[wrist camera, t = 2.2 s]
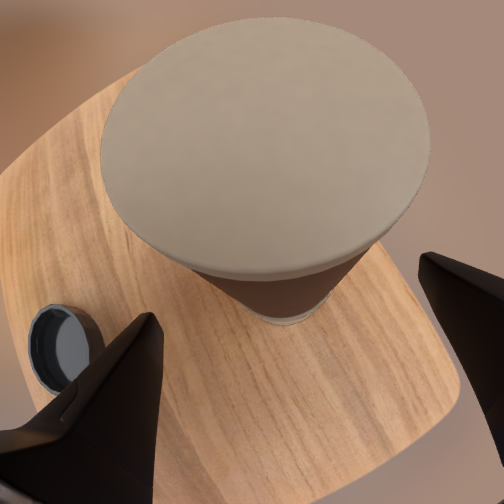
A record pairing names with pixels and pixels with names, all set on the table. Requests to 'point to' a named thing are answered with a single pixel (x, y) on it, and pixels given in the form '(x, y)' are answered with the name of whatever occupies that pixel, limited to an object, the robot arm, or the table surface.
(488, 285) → the robot arm
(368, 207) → the brown lidded canister
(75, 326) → the bowl
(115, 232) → the table surface
